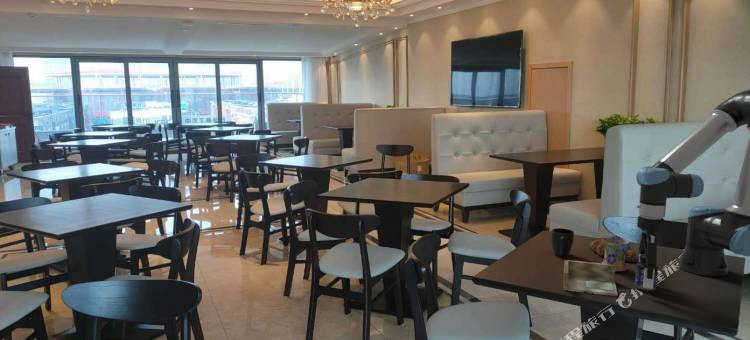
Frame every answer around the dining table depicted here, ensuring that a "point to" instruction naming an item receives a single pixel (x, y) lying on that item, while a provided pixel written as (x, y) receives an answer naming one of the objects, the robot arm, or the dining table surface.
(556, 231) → the mug
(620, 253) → the mug
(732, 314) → the dining table surface
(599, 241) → the pastry
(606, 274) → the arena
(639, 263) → the pill bottle
